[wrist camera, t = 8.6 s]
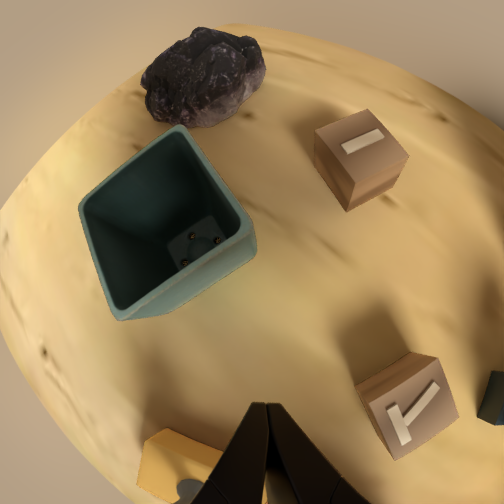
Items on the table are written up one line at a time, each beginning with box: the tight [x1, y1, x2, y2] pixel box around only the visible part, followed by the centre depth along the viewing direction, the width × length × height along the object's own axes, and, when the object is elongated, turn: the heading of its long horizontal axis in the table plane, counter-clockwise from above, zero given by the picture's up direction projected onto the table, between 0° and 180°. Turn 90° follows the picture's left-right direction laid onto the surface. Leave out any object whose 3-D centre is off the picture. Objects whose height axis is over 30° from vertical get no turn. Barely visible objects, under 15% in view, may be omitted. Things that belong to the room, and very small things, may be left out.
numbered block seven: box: [355, 352, 459, 461], centre depth 15 cm, size 5×5×5 cm
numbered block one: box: [314, 109, 409, 212], centre depth 20 cm, size 5×5×5 cm
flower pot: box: [78, 124, 257, 321], centre depth 18 cm, size 9×9×9 cm
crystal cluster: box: [140, 27, 266, 128], centre depth 24 cm, size 13×14×10 cm
